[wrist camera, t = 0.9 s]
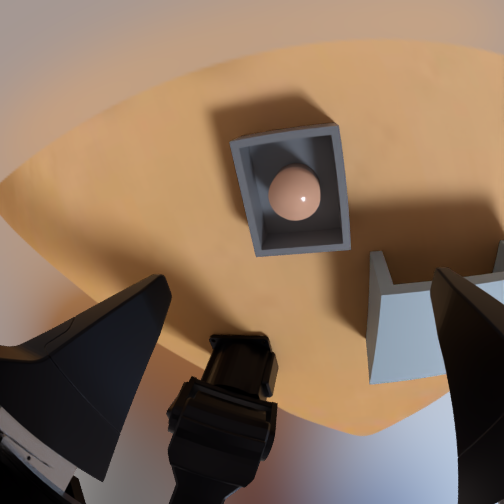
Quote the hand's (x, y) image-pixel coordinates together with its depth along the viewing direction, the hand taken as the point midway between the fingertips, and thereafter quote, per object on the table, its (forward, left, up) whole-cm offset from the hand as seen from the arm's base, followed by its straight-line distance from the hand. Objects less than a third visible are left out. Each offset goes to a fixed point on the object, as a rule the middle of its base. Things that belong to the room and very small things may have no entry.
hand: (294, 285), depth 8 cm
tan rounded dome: (-1, 0, -12) cm, 12 cm away
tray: (-1, 0, -12) cm, 12 cm away
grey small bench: (+11, -11, -12) cm, 20 cm away
